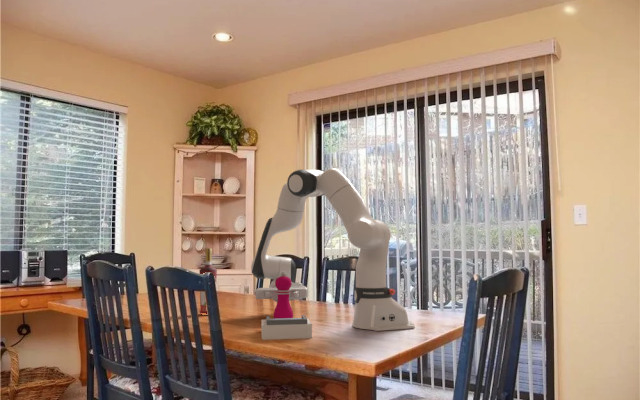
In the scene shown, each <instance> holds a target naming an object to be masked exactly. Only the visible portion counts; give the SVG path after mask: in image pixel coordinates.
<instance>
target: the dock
mask: <svg viewBox="0 0 640 400" xmlns="http://www.w3.org/2000/svg"><path fill="white" fill-rule="evenodd" d="M260 326H261V327H260V329H261V332H260V333H261V340H262V341H264V340H265V341H268V340H289V339H290V340H294V339H299V340H300V339H313V323H312V322H311V321H310V319H309V318H307V317H306V315H305V314H301V317H293V318H278V319H274V318H270V316H269V315H267V316H265V319H261V324H260Z"/></svg>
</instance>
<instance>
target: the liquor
mask: <svg viewBox="0 0 640 400" xmlns="http://www.w3.org/2000/svg"><path fill="white" fill-rule="evenodd" d="M212 249H213V248H205V252H204V253H205V262H204V267H202V268H200V269H199V275H200V274H203V273H205V272H212V273H213V274H214V276H215V282H216V283H217V276H218V275H217V272H218V269H217V268H215V267H214V266H213V264H212V261H213V260H212V252H213V251H212ZM199 294H200V295H199V297H200V298H199V300H200V307H199V308H200V309H199V312H198V313H200V314H201V313H206V314H207V311H206V301H205V293H204V292H200V291H199Z"/></svg>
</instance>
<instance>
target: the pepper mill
mask: <svg viewBox="0 0 640 400" xmlns="http://www.w3.org/2000/svg"><path fill="white" fill-rule="evenodd" d="M291 285H292V282H291V279H290V278H289V277H286V273H285V272H282V273H281V277H278V278H277V279H276V281H275V286H276V288H277V289H278V290H277V294H278V302H276V306H275V308H274V310H273V315H272V316H273V319H278V318H294V310H293V308H292V306H291V302H290V301H289V294H290V290H289V289H290V287H291Z"/></svg>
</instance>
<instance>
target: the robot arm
mask: <svg viewBox="0 0 640 400" xmlns="http://www.w3.org/2000/svg"><path fill="white" fill-rule="evenodd" d="M321 196H325V198H326V199H327V200H328V202H329V203H330V205H331V206H332V207H333V209H334V210H335V212H336V213H337V215H338V217H339V218H340V220H341V222H342V223H343V226H344V228H345V231H346V232H347V237H348V241H349V242H350V243H351V244H352V245H353V246H354V247H356V248H358V249H359V253H358V258H357V262H356V263H355V287H354V302H355V304H354V305H355V306H354V307H355V309H354V314H353V320H352V324H351V327H353V328H356V329H362V330H371V331H375V332H376V331H377V332H381V331H393V330H395V331H396V330H406V329H407V330H408V329H414V328H415V323H414V322H412V321H410V320H409V317H408V316H409V315H408V313H407V310H406V309H405V307H404V306H402V305H401V304H400V303H399V302H397V300H396V299H393V297H392V296H394V295H395V293H396V290H395V288H390V287H388V286H387V259H388V252H389V244H390V240H391V236H392V232H391V229H390V227H389V226H388V225H387V224H386V223H385V222H384V221H382V220H379V219H374V217H372V215H371V214H370V212H369V210H368V207H367V205H366V202H365V200H364V198H363V197H362V196H361V194H360V193H359V192H358V190H357V189H356V187H355V186H354V185H353V183H352V182H351V181H350V180H349V179H348V177H347V176H346V175H344V173H342V172H341V171H340V170H339V169H338V168H335V167H332V168H330V167H329V168H328V169H326V170H323V169H313V168H306V169H297V170H295V171H293V172H291V173H290V174H289V175H288V178H287V181H286V183H285V184H283V186H282V187H281V190H280V195H279V196H278V202H277V209H276V212H275V213H274V215H273V216H272V217H269V219H268V220H267V221H266V224H265V226H264V230H263V232H262V234H261V238H260V241H259V244H258V247H257V251H256V253H255V255H254V258H253V260H252V263H251V267H250V270H251V274H252V275H253V276H254V277H255V278H257V279H260V280H261V279H263V280H264V279H267V280H272V281H271V282H270V284H269V287H258V288H256V289H255V291H254V294H255V299H256V300H267V299H268V300H270V299H272V300H273V301H274V302H276V303H277V302H278V294H277V290H278V289H277V288H276V286H275V281H276V279H277V278H278V277H281V273H282V272H285V273H286V277H289V278H290V279H291V282H292V285H291V287H290V289H289V290H290V294H289V302H290V301H296V300H302V299H306V298H308V296H309V294H308V293H309V290H308V287H307V286H305V285H303V283H301V282H295V279H296V276H297V275H296V273H297V266H296V263H295V262H294V260H293V259H292V258H291V257H286V256H274V255H268V254H267V253H268V251H269V250H268V249H269V246H270V244H271V240H272V238H273V237H274V236H275V235H277V234H280V233H284V232H290V231H291V230H294V229H296V228H297V227H298V226H300V224H301V223H302V221H303V217H304V212H305V206H306V205H305V204H306V201H307V199H308V198H314V197H321Z"/></svg>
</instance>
